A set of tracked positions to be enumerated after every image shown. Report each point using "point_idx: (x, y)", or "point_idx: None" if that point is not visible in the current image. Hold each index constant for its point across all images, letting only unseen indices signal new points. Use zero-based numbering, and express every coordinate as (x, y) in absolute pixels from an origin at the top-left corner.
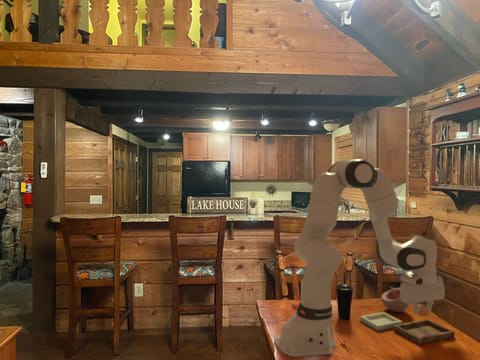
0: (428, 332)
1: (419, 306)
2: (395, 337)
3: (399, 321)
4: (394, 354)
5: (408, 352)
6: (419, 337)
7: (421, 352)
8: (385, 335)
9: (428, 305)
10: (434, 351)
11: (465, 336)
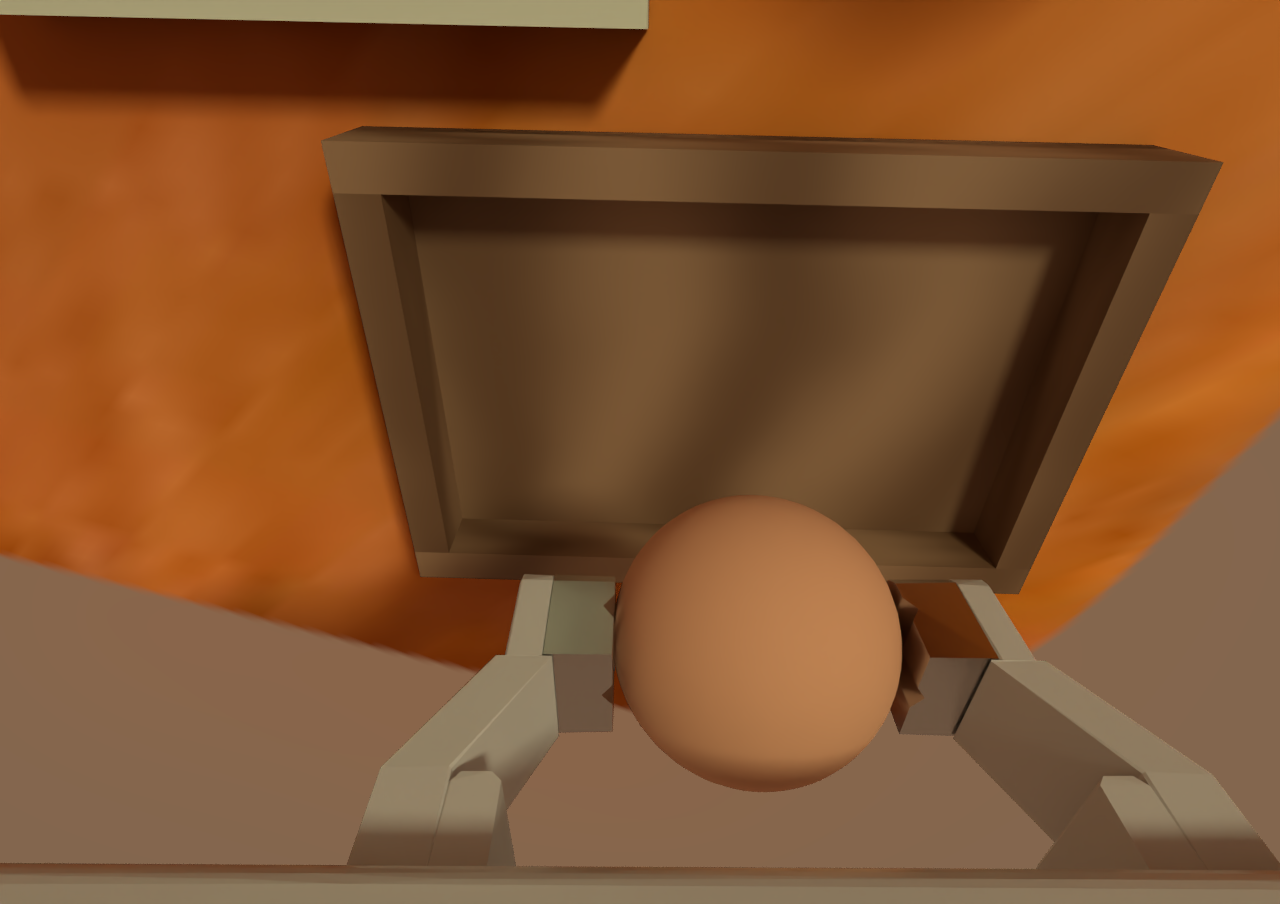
0: (795, 405)
1: (663, 720)
2: (256, 306)
3: (583, 6)
4: (50, 555)
5: (221, 573)
6: (548, 454)
7: (354, 607)
8: (126, 204)
9: (997, 729)
10: (493, 630)
11: (1122, 567)
